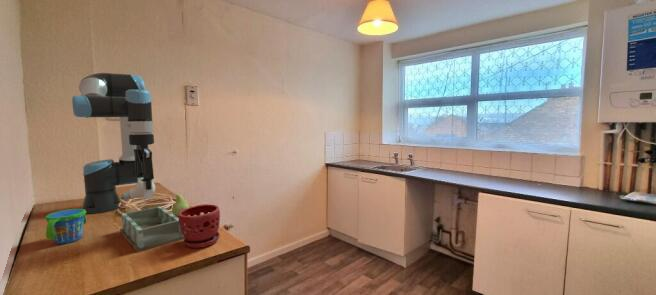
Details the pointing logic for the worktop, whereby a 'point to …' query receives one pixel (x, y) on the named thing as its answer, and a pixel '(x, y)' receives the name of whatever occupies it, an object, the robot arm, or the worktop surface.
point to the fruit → (179, 204)
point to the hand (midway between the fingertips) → (145, 196)
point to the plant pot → (200, 225)
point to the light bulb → (136, 192)
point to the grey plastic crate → (150, 228)
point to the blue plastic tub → (65, 225)
